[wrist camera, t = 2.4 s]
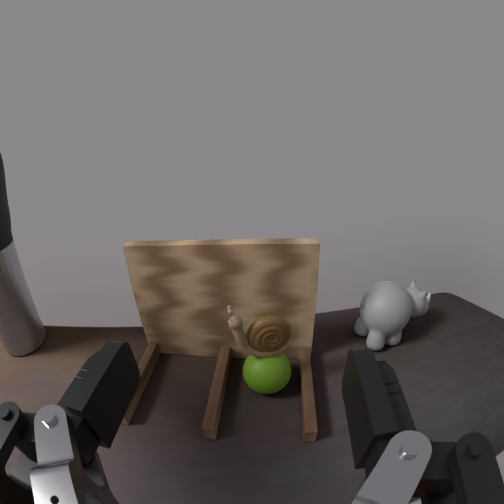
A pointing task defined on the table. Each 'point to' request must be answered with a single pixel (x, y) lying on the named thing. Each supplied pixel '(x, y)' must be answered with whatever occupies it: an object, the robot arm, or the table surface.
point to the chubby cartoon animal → (389, 312)
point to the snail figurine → (263, 351)
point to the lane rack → (223, 306)
